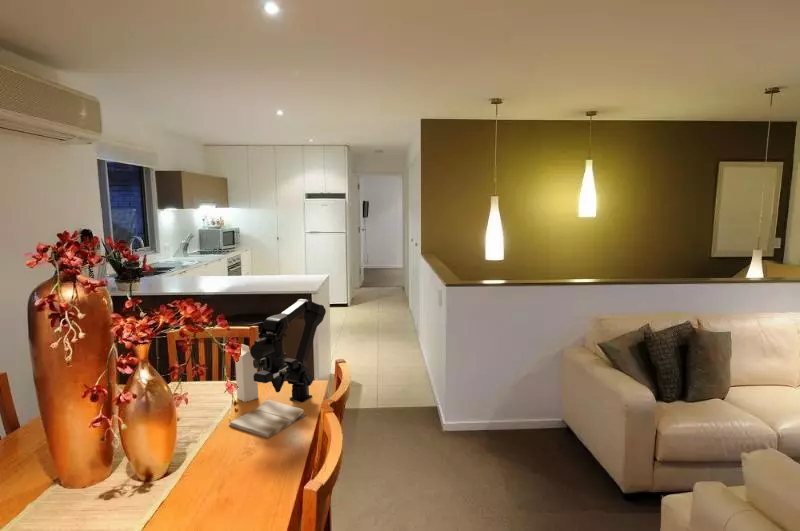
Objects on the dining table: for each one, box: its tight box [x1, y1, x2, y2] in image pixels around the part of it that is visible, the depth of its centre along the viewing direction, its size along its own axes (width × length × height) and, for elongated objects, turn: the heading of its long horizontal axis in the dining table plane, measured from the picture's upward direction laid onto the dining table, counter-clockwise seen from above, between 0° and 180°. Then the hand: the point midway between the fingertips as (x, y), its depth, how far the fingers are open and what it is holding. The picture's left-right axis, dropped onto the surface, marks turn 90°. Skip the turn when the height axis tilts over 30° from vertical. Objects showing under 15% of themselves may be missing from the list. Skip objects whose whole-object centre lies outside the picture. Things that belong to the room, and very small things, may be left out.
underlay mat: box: [228, 413, 306, 439], centre depth 164 cm, size 19×18×1 cm
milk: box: [234, 343, 259, 403], centre depth 182 cm, size 6×6×22 cm
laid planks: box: [229, 409, 293, 439], centre depth 161 cm, size 12×18×1 cm, turn 61°
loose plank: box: [255, 398, 305, 422], centre depth 169 cm, size 6×18×1 cm, turn 61°
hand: (277, 392), depth 170 cm, fingers closed
